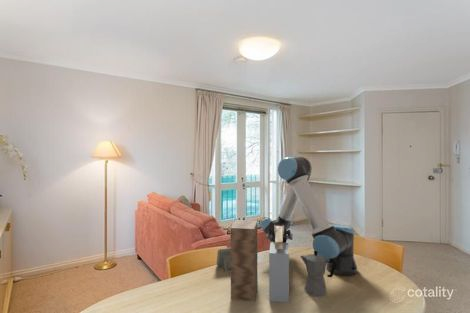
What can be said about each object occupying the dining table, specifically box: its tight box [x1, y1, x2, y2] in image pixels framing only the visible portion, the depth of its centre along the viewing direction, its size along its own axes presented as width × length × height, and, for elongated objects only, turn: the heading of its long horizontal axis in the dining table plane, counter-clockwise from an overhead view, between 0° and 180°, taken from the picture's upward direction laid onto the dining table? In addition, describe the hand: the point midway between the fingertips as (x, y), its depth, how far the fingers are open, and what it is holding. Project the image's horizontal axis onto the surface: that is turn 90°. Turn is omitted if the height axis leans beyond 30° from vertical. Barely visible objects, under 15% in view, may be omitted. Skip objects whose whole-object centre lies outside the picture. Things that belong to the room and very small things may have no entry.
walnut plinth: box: [230, 219, 259, 302], centre depth 122 cm, size 10×14×30 cm
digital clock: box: [216, 247, 231, 271], centre depth 149 cm, size 16×9×11 cm, turn 95°
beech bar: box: [275, 226, 283, 249], centre depth 123 cm, size 3×24×3 cm, turn 170°
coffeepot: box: [300, 250, 337, 298], centre depth 121 cm, size 15×9×18 cm, turn 69°
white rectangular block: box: [268, 241, 290, 303], centre depth 120 cm, size 8×14×20 cm, turn 170°
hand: (279, 228), depth 127 cm, fingers closed on beech bar, 3 cm apart
